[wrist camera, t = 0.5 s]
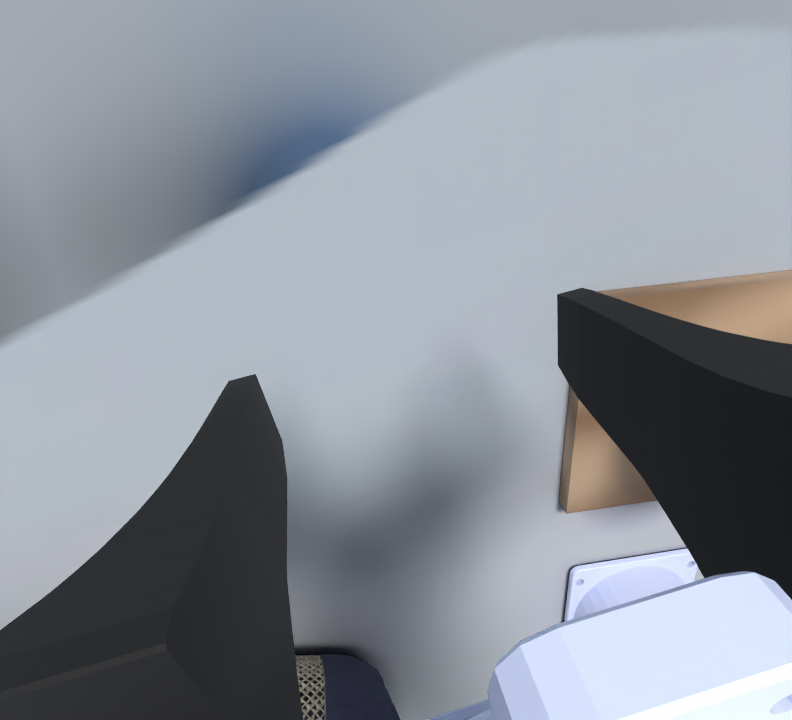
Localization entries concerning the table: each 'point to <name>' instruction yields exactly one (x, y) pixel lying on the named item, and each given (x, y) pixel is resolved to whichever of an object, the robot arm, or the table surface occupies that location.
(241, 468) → the robot arm
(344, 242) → the table surface
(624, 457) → the wooden fixture board
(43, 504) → the table surface
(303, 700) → the portable speaker
